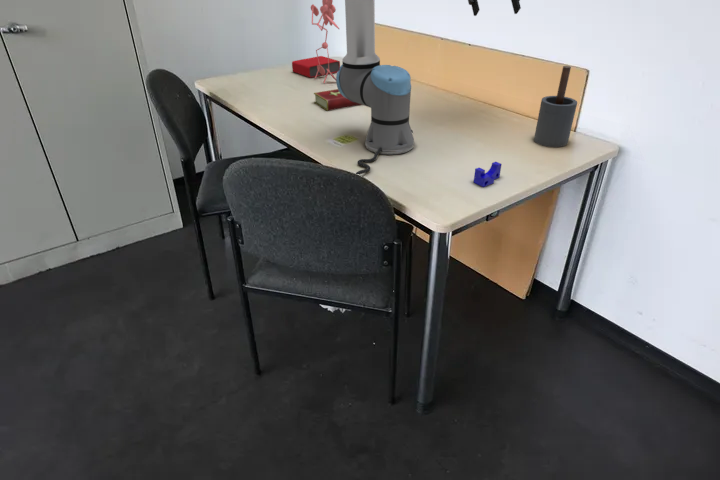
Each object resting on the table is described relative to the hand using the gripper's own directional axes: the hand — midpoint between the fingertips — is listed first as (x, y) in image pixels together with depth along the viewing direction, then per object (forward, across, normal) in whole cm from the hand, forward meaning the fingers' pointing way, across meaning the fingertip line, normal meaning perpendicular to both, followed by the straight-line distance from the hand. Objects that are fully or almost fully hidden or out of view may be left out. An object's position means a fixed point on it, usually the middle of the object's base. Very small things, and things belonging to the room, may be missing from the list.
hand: (497, 12), depth 148 cm
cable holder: (+55, +17, +4) cm, 58 cm away
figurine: (-26, +41, -76) cm, 90 cm away
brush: (+38, -14, -10) cm, 42 cm away
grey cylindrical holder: (+39, -14, -11) cm, 43 cm away
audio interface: (-38, +46, -84) cm, 103 cm away
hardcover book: (0, +42, -51) cm, 66 cm away
